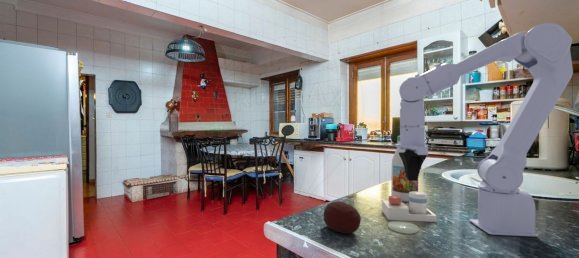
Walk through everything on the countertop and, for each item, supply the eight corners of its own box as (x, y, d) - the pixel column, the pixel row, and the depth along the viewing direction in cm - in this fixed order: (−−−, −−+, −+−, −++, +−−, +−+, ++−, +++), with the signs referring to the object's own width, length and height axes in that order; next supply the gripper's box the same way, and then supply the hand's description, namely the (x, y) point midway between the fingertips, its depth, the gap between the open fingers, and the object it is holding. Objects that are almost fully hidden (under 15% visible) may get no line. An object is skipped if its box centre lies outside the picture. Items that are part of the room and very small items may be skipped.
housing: (425, 212, 69) (425, 201, 69) (436, 221, 63) (436, 209, 62) (382, 211, 70) (382, 200, 70) (388, 219, 64) (388, 207, 64)
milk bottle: (386, 196, 84) (386, 135, 84) (405, 195, 86) (406, 135, 86) (403, 203, 77) (403, 136, 76) (424, 201, 79) (424, 136, 79)
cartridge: (422, 214, 68) (423, 191, 68) (429, 220, 64) (429, 195, 64) (406, 213, 68) (406, 191, 68) (411, 219, 64) (412, 195, 64)
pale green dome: (412, 223, 62) (412, 221, 62) (423, 234, 55) (423, 232, 55) (384, 222, 62) (384, 220, 62) (392, 233, 56) (392, 231, 56)
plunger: (399, 210, 68) (399, 195, 68) (402, 214, 65) (402, 199, 65) (387, 209, 68) (387, 195, 68) (390, 213, 65) (390, 198, 65)
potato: (341, 220, 64) (341, 195, 64) (370, 236, 54) (370, 207, 54) (315, 225, 61) (315, 199, 61) (341, 243, 51) (341, 212, 51)
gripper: (388, 126, 74) (388, 174, 74) (405, 127, 59) (405, 186, 59) (414, 126, 73) (414, 175, 73) (437, 127, 58) (437, 187, 58)
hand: (412, 180), depth 66 cm, fingers closed
